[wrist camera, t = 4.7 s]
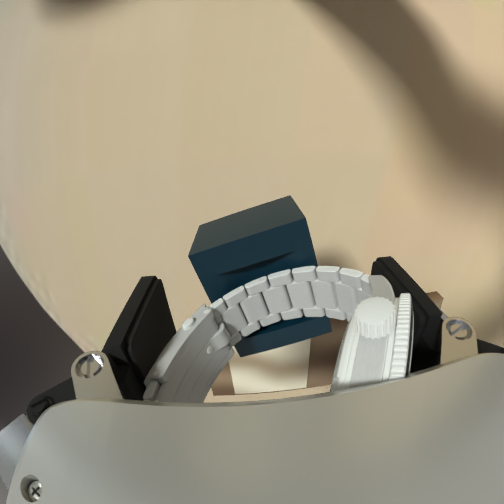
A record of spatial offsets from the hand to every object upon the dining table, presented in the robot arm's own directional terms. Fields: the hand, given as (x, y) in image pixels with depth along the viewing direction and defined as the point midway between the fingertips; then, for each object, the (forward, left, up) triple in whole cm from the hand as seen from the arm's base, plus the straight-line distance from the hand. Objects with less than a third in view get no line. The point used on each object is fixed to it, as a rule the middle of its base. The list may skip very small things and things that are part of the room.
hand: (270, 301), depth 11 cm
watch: (0, 0, -3) cm, 3 cm away
